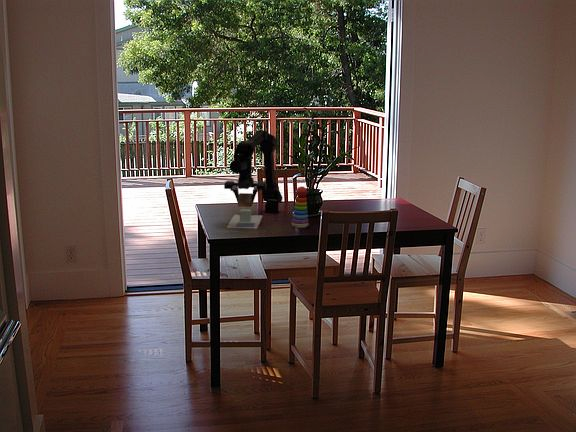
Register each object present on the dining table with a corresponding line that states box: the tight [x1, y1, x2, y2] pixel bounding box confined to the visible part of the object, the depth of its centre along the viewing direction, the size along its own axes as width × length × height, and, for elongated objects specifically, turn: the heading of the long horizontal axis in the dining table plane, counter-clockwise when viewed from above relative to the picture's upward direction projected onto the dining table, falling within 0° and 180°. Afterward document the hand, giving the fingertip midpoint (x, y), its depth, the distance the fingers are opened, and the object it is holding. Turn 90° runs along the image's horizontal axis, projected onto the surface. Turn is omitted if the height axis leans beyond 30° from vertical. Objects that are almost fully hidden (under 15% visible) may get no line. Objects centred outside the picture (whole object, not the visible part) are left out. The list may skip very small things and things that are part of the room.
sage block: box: [239, 208, 253, 222], centre depth 325 cm, size 5×5×5 cm
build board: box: [225, 214, 263, 229], centre depth 325 cm, size 14×27×1 cm, turn 176°
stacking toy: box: [291, 186, 309, 229], centre depth 318 cm, size 8×8×19 cm
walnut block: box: [237, 192, 253, 208], centre depth 315 cm, size 6×6×5 cm
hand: (245, 203), depth 315 cm, fingers closed on walnut block, 6 cm apart
